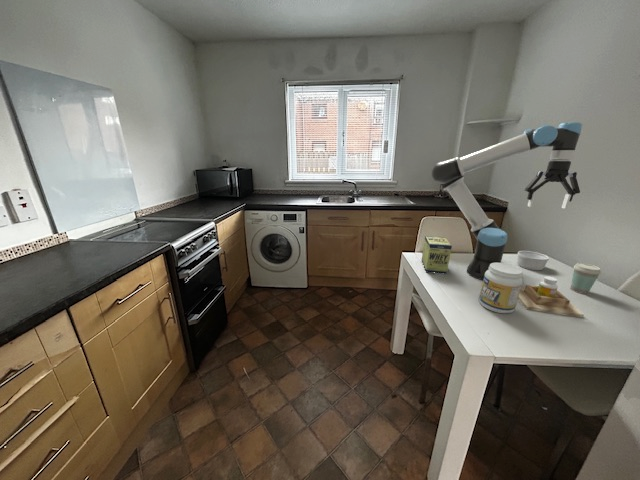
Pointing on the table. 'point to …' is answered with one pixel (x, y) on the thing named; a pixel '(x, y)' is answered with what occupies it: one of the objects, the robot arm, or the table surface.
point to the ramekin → (532, 260)
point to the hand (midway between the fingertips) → (546, 207)
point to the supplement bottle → (547, 287)
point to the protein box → (436, 254)
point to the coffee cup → (584, 277)
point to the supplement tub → (501, 287)
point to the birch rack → (547, 302)
